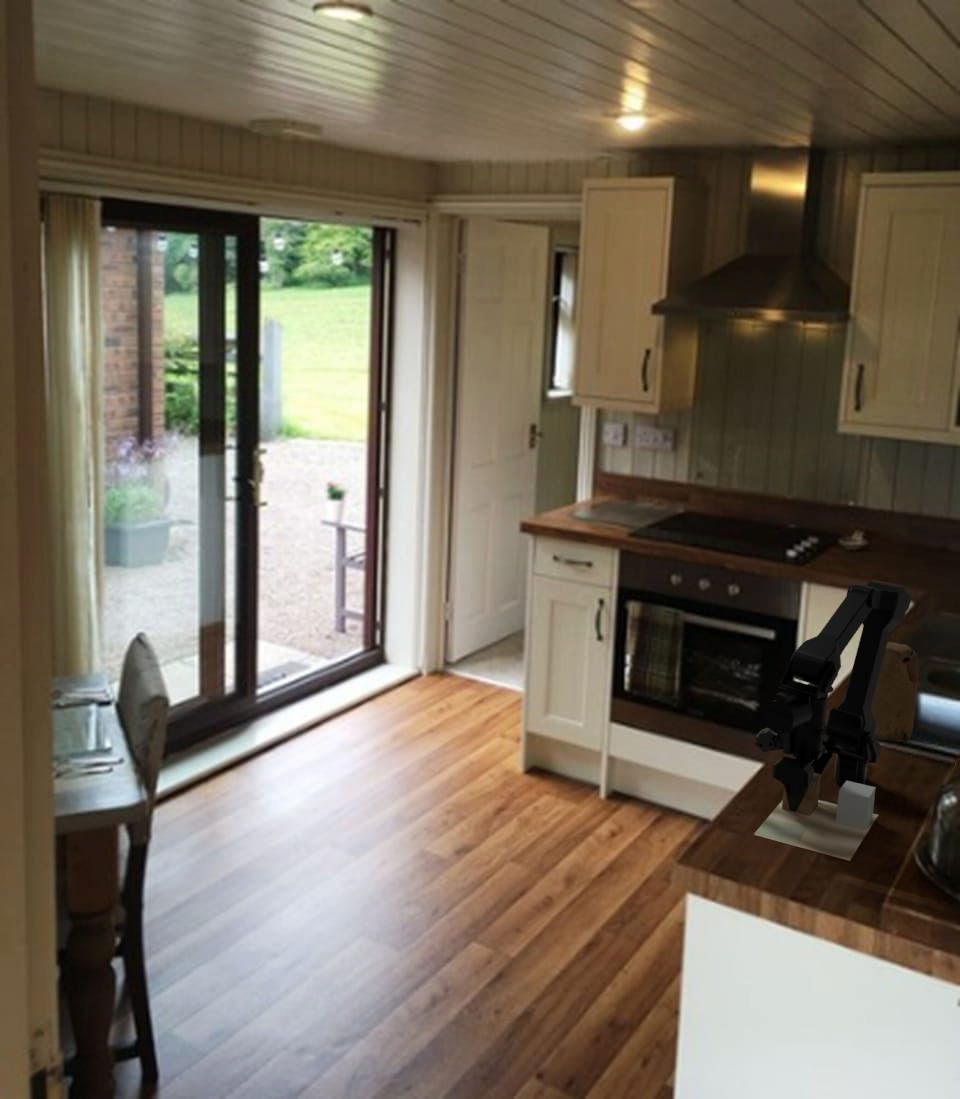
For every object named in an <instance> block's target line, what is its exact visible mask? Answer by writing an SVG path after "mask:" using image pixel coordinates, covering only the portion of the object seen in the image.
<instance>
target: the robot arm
mask: <svg viewBox="0 0 960 1099" xmlns="http://www.w3.org/2000/svg"><path fill="white" fill-rule="evenodd" d="M910 606H911V594H910V593H908V590H907V589H906V587H905V586H902V585H897V584H894V583H888V582H884V581H880V580H879V581H878V580H874V579H871V580H870V581H868V583H867V584H863V583H855V584H850V585H849V587H848V588H847V591H846V596H845V598H844V599H843V600H842V602H840V604H839V606H838V607H837V609H836V610H835V612H834V613H833V614H832V615H831V617H830V618H829V620H828V621H827V622H826V623H825V625H824V626H823V627H822V629H821V631H820V632H819V634H817V635H816V636H814V637H812V638H809V639H807V640H805V641H804V642H802V644H800V645H799V647H797V649H796V650H795V651H794V652H793V653H792V654H791V656H790V658H789V660H788V663H787V665H786V667H785V669H784V672H783V673H782V675H781V678H780V680H779V682H778V684H777V686H778V688H780V689H783V690H785V691H783V692H778V693H776V695H775V700H772V701H771V702H769V703H768V704H766V706H765V708H764V710H763V720H764V722H765V725H766V726H767V727H766V728H762V729H761V730H760V731H759V732H758V733H757V734H756V736H755V739H756V740H755V745H754V746H756V747H758V749H759V751H760V753H761V754H762V753H767V752H772V751H773V752H774V751H780V750H782V754H786V755H792V757H789V756H785V755H784V756H782V757H781V758H779V759H778V760H777V761H776V762H775V763H774V764H773V765H772V770H771V777H772V778H773V779H775V780H776V781H778V782H780V783H782V785H783V788H784V787H785V791H786V795H787V800H788V805H789V809H790V811H793V812H796V811H797V809H798V807H799V806H800V804H801V802H802V800H803V798H804V796H805V794H806V792H807V790H808V788H809V787H810V785H811V783H812V781H813V780H812V777H813V774H814V773H817V774H821V775H822V774H823V772H824V771H825V769H826V767H827V766H828V764H829V762H830V760H831V759H832V758H833V755H834V754H835V762H834V763H835V764H834V772H833V780H834V781H835V782H836V785H837V786H838V787H840V788H841V787H842V786H843V785H844V783H845V782H846V780H847V781H851V782H855V783H859V784H864V785H866V779H867V771H868V765H869V764H876V763H878V759H879V758H880V756H881V751H882V746H881V744H880V743H879V741H878V739H876V737H875V735H874V731H875V726H876V724H875V720H874V717H873V714H872V711H871V704H872V701H873V697H874V693H875V689H876V685H877V681H878V677H879V674H880V670H881V666H882V662H883V658H884V654H885V651H886V647H887V643H888V642H889V638H890V636H891V633H892V632H893V631H894V630H895V629H896V628H897V627H898V626H899V625H900V624H901V623H903V621H904V618H905V616H906V612H907V611H908V610H909V608H910ZM861 626H862V631H861V634H860V639H859V642H858V646H857V650H856V654H855V658H854V662H853V665H852V669H851V673H850V676H849V680H848V685H847V688H846V692H845V696H844V699H843V702H841V703H840V704H839V705H838V706H837V707H832V708H831V710H829V713H828V714H829V715H828V720H827V723H826V716H827V709H828V700H829V697H828V696H829V694H830V693H832V692H834V687H833V684H834V683H835V681H836V679H837V678H838V676H839V672H840V670H841V668H842V661H841V656H842V654H843V652H844V651H845V649H846V647H847V646H848V645H849V643H850V642H851V640H852V639H853V637H854V636H855V634H856V633H857V631H858V630H859V629H860V627H861ZM793 679H796V680H793ZM797 680H799V681H797ZM800 681H802V682H800ZM803 682H805V683H803ZM793 757H794V758H793Z"/></svg>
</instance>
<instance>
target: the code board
mask: <svg viewBox="0 0 960 1099" xmlns="http://www.w3.org/2000/svg"><path fill="white" fill-rule="evenodd" d="M782 802H783V799H782V800H781V801H780V803H779V804H778V805H777V806H776V807H775V808H774V809H773V811H771V813H770V814H769V815H768V817H767V818H766V819H765V820H764V821H763V823H761V825H759V827H758V829H757V830H756V831H755V832H754V834H753V835H755V836H758V837H762V838H765V839H769V840H773V841H776V842H781V843H783V844H787V845H790V846H791V845H792V846H794V847H799V848H802V849H805V850H808V851H813V852H817V853H821V854H824V855H827V856H831V857H834V858H838V859H841V860H842V859H843V860H846V861H851V860H852V858H853V857H854V855H855V853H856V852H857V850H858V848H859V847H860V845H861V844H862V841H863V840H864V839H865V837H866V835H867V834H868V833H869V831H870V829H871V827H872V826H873V824H874V823H875V821H876V820H877V818H878V817H879V814H877V813H873V816H872V820H871V822H870V823H869V825H868V827H867V828H866V830H863V829H859V828H855V827H851V826H847V825H844V824H840V823H836V816H837V806H838V803H832V802H829V801H825V800H820V799H818V806H817V807H816V808H815V810H814V811H813V812H812V814H811V815H810V816H809V815H805V814H801V813H797V812H793V811H789V810H785V809H782Z"/></svg>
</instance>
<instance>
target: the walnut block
mask: <svg viewBox="0 0 960 1099" xmlns="http://www.w3.org/2000/svg"><path fill="white" fill-rule="evenodd" d="M821 777H822V774H817V773H814V774H813V777H812V780H813V781H812V783H811V785H810V787H809V788H808V790H807V792H806V794H805V796H804V798H803V800H802V802H801V804H800V806H799V807H798V809H797V811H796V812H797V813H801V814H805V815H809V816H810V815H811V814H812V812H813V811H814V810H815V808H816V807H817V806H818V800H819V796H820V788H821V786H820V785H821ZM782 800H783V802H782V809H785V810H789V811H790V809H789V805H788V800H787V795H786V791H785V787H784V786H783V793H782Z"/></svg>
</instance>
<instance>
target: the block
mask: <svg viewBox="0 0 960 1099" xmlns="http://www.w3.org/2000/svg"><path fill="white" fill-rule="evenodd" d="M919 668H920V667H919V660H918V655H917V653H916V652H915V650H914V649H913V648H912V647H910V645H908V644H904V643H902V644H900V643H898V642H895V641H894V642H893V641H888V643H887V647H886V651H885V654H884V658H883V662H882V666H881V670H880V674H879V677H878V681H877V685H876V689H875V693H874V697H873V701H872V704H871V711H872V714H873V717H874V720H875V724H876V726H875V731H874V735H875V737H876V739H877V740H881V741H889V742H898V743H901V742H906V741H909V740H910V739H911V736H912V734H913V729H914V723H915V712H916V704H917V693H918V684H919V676H920V675H919V670H920V669H919Z"/></svg>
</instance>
